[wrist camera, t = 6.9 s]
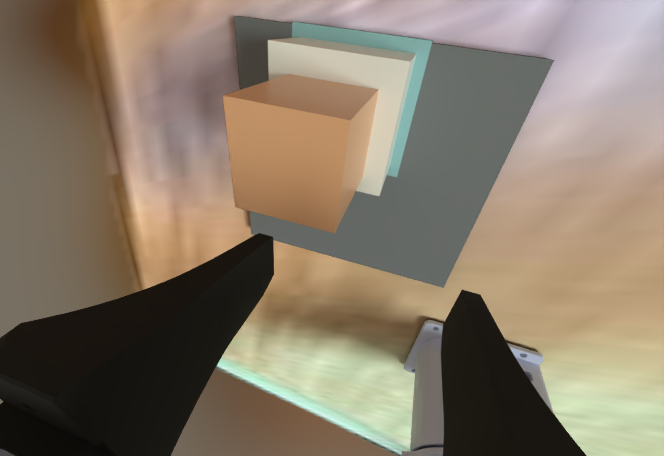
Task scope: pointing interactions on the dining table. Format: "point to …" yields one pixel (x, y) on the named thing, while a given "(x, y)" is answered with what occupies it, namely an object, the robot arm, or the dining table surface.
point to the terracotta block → (299, 147)
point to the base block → (360, 70)
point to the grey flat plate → (415, 149)
